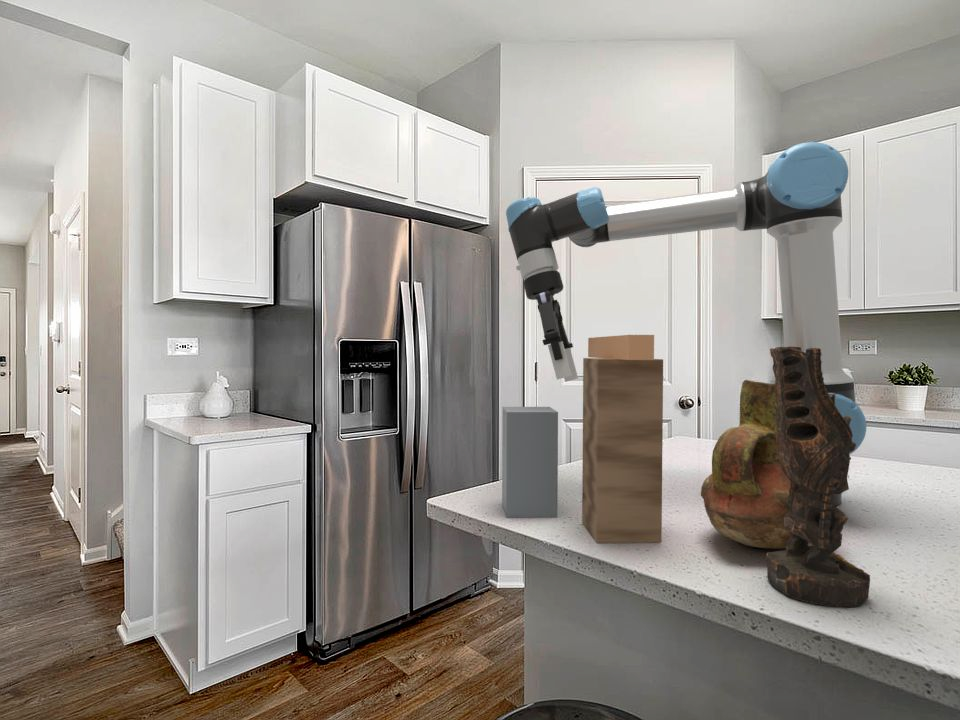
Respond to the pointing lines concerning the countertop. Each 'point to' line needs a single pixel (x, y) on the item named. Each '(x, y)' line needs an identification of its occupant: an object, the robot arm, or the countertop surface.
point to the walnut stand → (622, 449)
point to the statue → (812, 485)
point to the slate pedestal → (529, 462)
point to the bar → (622, 347)
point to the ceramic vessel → (749, 475)
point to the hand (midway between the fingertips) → (568, 379)
